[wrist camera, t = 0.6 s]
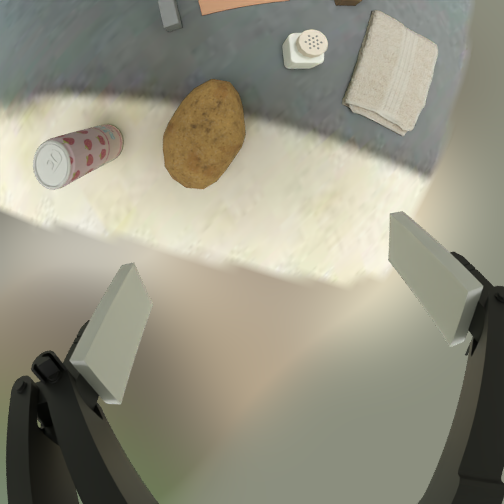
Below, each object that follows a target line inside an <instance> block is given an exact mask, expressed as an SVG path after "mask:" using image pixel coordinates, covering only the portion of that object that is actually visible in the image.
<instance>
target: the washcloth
mask: <svg viewBox="0 0 504 504" xmlns="http://www.w3.org/2000/svg"><path fill="white" fill-rule="evenodd" d="M368 23H369V25H368V27H367V31H366V35H365V37H364V39H363V43H362V47H361V48H360V51H359V52H360V53H359V56H358V60H357V63H356V66H355V68H354V73H353V75H352V78H351V82H350V83H349V86H348V88H347V91H346V92H345V96H344V98H343V102H342V104H343V105H345V106H347V107H350V108H351V110H352V112H353V113H357V114H361V115H363V116H365V117H367V118H369V119H371V120H373V121H375V122H377V123H379V124H381V125H382V126H384V127H386V128H388V129H390V130H392V131H393V132H395V133H397V134H400V135H402V136H404V135H405V133H406V132H407V131H411V130H412V129H413V128H414V126H415V124H416V121H417V119H418V116H419V114H420V112H421V110H422V109H423V108H424V107H425V104H426V98H427V94H428V90H429V87H430V84H431V80H432V77H433V71H434V67H435V63H436V60H437V56H438V48H437V45H436V44H434V43H433V42H432V41H430V40H429V39H427V38H425V37H423V36H421V35H420V34H416V33H415V32H413V31H412V30H410V29H408V28H406V27H405V26H404V25H403V24H402V23H401V22H398V21H397V20H396V19H394V18H392V17H390V16H388V15H386V14H384V13H383V12H381V11H378V10H374V11H372V14H371V18H370V20H369V22H368Z"/></svg>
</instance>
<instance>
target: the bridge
mask: <svg viewBox="0 0 504 504" xmlns="http://www.w3.org/2000/svg"><path fill="white" fill-rule="evenodd" d="M334 1H335V4H336V5H347V6H355V5H357V4H358V3H359V2H361V1H362V0H334Z"/></svg>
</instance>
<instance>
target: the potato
mask: <svg viewBox="0 0 504 504" xmlns="http://www.w3.org/2000/svg"><path fill="white" fill-rule="evenodd" d="M244 138H245V124H244V114H243V106H242V103H241V99H240V96H239V93H238V92H237V91H236V89H235V88H234V87H233V86H232V84H231V83H230V82H227V81H221V80H215V79H211V80H209V81H207V82H205V83H203V84H201V85H200V86H198V87H196V88H194V89H193V90H192V91H191V92H190V93H189V94H188V95H187V97H186V98H185V99H184V100H183V101H182V103H181V104H180V106H179V107H178V109H177V110H176V112H175V113H174V115H173V116H172V118H171V120H170V122H169V123H168V126H167V128H166V131H165V133H164V136H163V153H164V161H165V167H166V169H167V170H168V172H169V173H170V175H171V177H172V178H173V179H174V180H176V181H177V182H179V183H180V184H182V185H183V186H185V187H186V188H196V189H204V188H206V187H208V186H209V185H211V184H213V183H214V182H216V181H217V180H218V179H219V178H220V176H221V175H222V174H223V173H224V172H225V170H226V169H227V168H228V166H229V165H230V163H231V162H232V160H233V159H234V157H235V156H236V155H237V153H238V152H239V150H240V149H241V147H242V144H243V141H244Z"/></svg>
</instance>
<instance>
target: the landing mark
mask: <svg viewBox="0 0 504 504" xmlns="http://www.w3.org/2000/svg"><path fill="white" fill-rule="evenodd" d="M198 1H199V5H200V8H201V12H202V16H203V15H207V14H211V13H215V12H220V11H224V10H229V9H234V8H239V7H245V6H251V5H257V4H264V3H271V2H280V1H290V0H198Z"/></svg>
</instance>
